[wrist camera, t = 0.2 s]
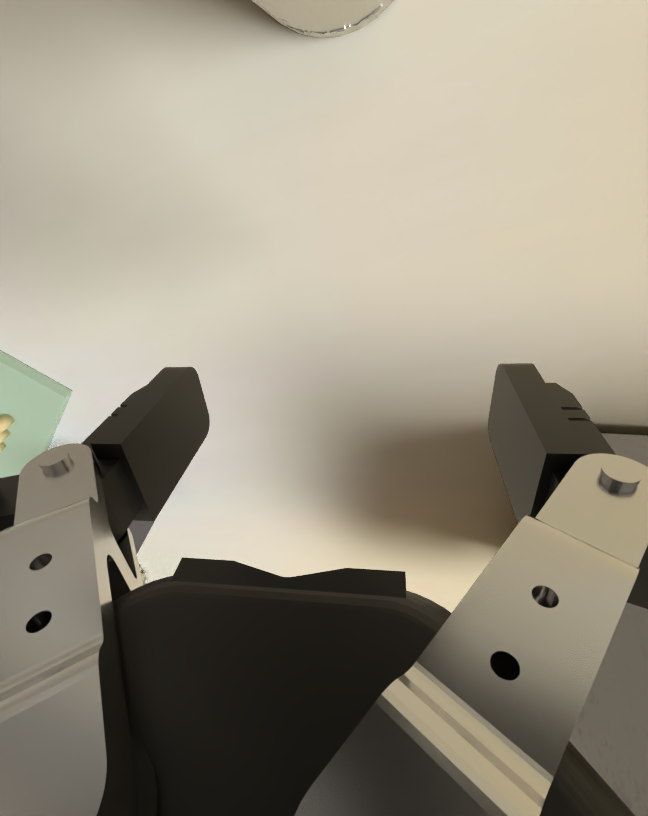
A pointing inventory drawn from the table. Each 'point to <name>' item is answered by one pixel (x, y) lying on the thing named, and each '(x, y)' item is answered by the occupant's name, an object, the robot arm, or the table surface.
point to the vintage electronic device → (621, 690)
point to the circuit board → (26, 413)
